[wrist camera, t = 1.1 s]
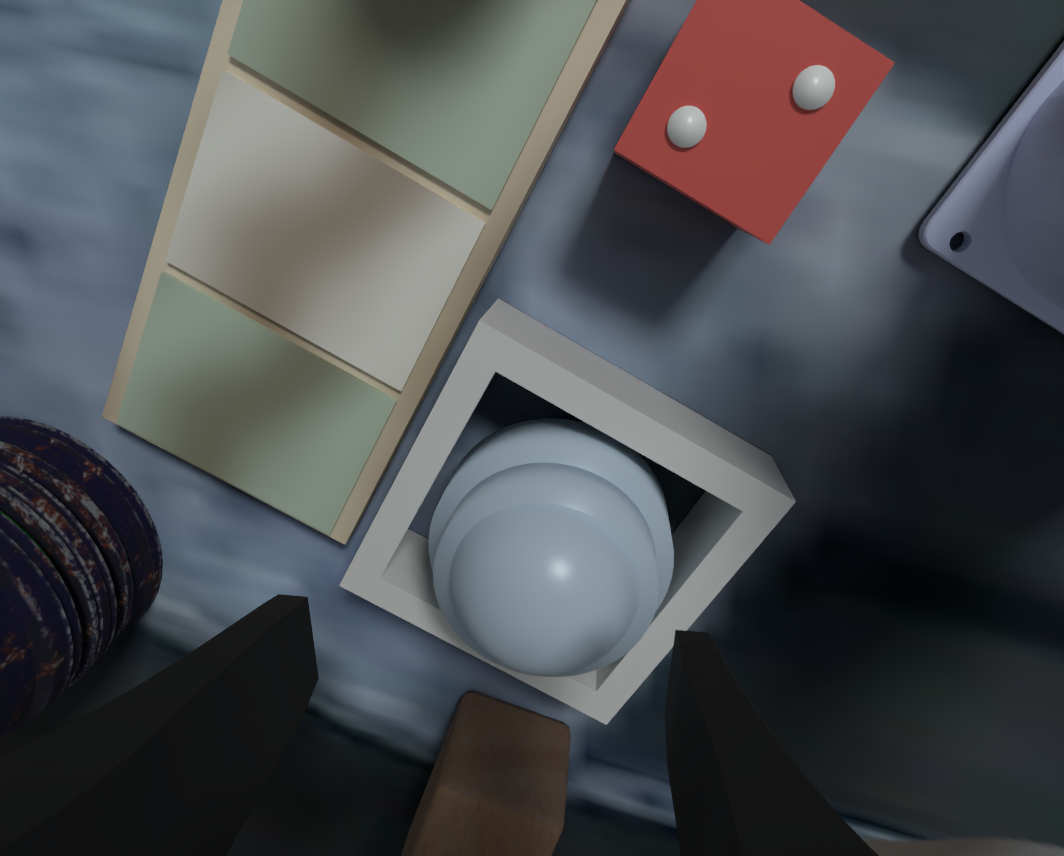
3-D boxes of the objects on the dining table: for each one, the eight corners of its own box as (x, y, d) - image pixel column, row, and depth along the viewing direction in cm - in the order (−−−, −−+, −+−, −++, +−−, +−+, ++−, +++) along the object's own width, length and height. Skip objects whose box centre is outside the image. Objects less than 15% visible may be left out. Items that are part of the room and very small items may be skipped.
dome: (714, 491, 19) (749, 604, 14) (593, 648, 22) (587, 788, 17) (509, 375, 19) (471, 451, 14) (409, 550, 21) (347, 667, 16)
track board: (773, -277, 14) (786, -314, 13) (355, 530, 23) (342, 548, 22) (406, -532, 13) (388, -595, 12) (122, 406, 22) (97, 419, 21)
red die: (832, 85, 17) (896, 62, 13) (737, 228, 18) (770, 245, 14) (698, -1, 16) (724, -51, 12) (614, 152, 18) (613, 149, 14)
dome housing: (771, 456, 20) (796, 501, 18) (607, 660, 24) (606, 724, 21) (498, 298, 20) (479, 320, 17) (371, 535, 23) (339, 585, 21)
